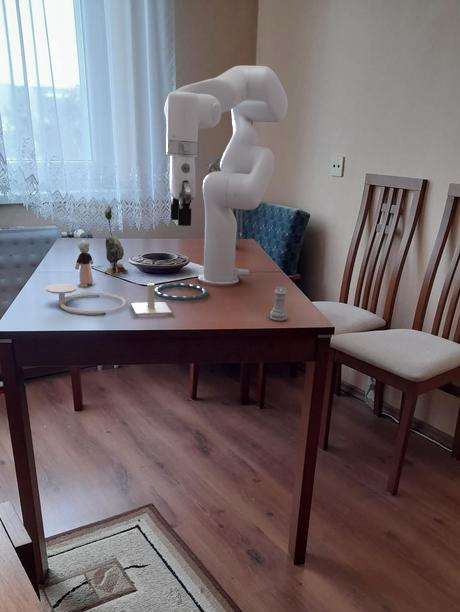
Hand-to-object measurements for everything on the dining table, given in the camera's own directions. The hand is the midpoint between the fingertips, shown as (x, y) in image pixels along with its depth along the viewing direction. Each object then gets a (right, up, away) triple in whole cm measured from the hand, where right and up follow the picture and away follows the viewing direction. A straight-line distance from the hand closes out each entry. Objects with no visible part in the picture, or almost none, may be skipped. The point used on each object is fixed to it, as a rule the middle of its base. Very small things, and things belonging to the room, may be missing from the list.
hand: (180, 222), depth 143 cm
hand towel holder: (-24, -21, +1) cm, 33 cm away
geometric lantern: (+11, +17, +80) cm, 83 cm away
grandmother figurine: (-29, -12, +18) cm, 36 cm away
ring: (-1, -15, +13) cm, 20 cm away
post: (-7, -23, -2) cm, 25 cm away
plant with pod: (-23, -6, +31) cm, 39 cm away
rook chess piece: (+25, -25, -1) cm, 36 cm away
